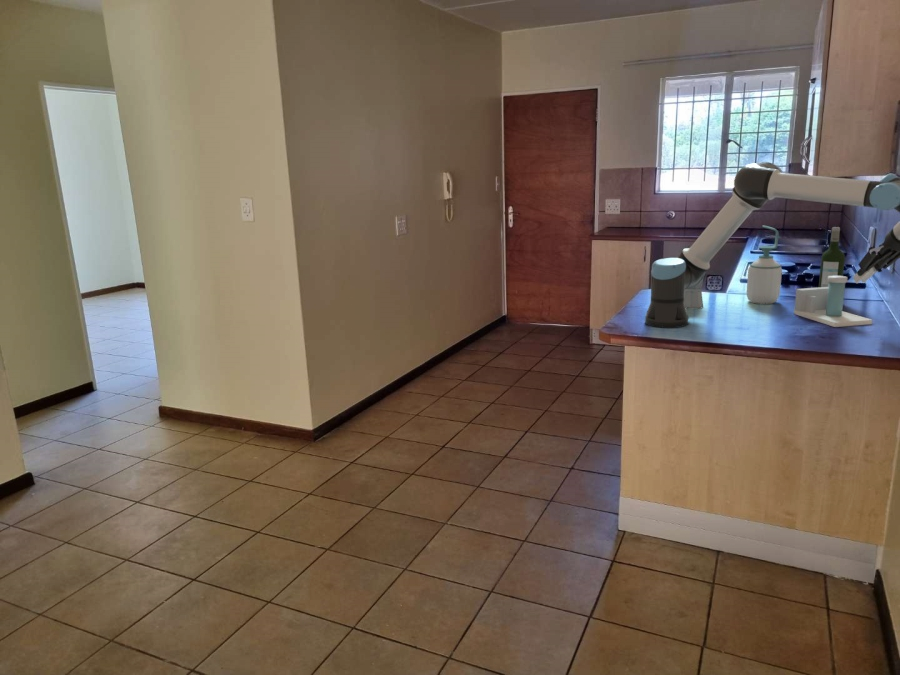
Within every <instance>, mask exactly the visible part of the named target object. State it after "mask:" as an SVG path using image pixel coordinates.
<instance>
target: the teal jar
mask: <svg viewBox="0 0 900 675" xmlns="http://www.w3.org/2000/svg"><path fill="white" fill-rule="evenodd" d="M827 281H828V282H829V287H828V297H827V306H826V315H830V316H841V315H842V311H843V309H844V308H843V307H844V298H845V297H844V296H845V288H846V283H848V276H844V275H843V276H828V280H827Z"/></svg>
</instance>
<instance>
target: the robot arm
mask: <svg viewBox="0 0 900 675" xmlns="http://www.w3.org/2000/svg"><path fill="white" fill-rule="evenodd" d="M731 194H732V196H731V197H730V199H729V200H728V201H727V202H726V203H725V205H724V206H723V207H722V208H721V209H720V210H719V212H718V213H717V215H716V216H714V218H713V219H712V220H711V222H710V223H709V224H708V225H707V226H706V228H705V229H704V230H703V231H702V232H701V234H700V235H699V236H698V237H697V239H696V240H695V241H694V242H693V243H692V244H691V246H690V247H685V248H683V250H682V251H681V252H680V253H679V254H678V255H677V257H665V258H660V259H657V260H655V261H654V262H652V264H651V270H650V278H651V280H650V303H649V306H648V309H647V311H646V314H645V319H644V323H645V324H646V325H648V326H651V327H655V328H667V329H669V328H671V329H672V328H681V327H682V328H683V327H686V326H687V325H688V324H689V315H688V312H687V308H685V305H684V290H686V289H688V288H692V287H694V286H696V285H698V284H699V283H700V282H701V281H702V279H703V278H704V276H705V272H706V273H707V271H708V270H709V269H710V268H711V265H710V261H711V260H712V259H713V258H714V257H715V255H716V254H717V253H719V251H720V250H721V249H722V247H723V246H725V244H726V243H727V241H728V240H729V239H730V238H731V237H732V236H733V235H734V233H735V232H736V231H737V230H739V227H741V225H742V224H743V223H744V221H745V220H746V219H747V218H748V217H749V215H751V214H752V212H753V211H756V210H757V211H758V210H760V209H762V207H763V206H764V205H765V204H766V203H767V202H768V201H772V200H774V199H775V198H781V199H791V200H798V201H799V200H800V201H808V202H817V203H818V202H819V203H825V204H826V203H828V204H837V205H846V206H847V205H848V206H855V207H856V206H857V207H866V208H870V209H871V208H872V209H878V210H879V211H890V210H893V209H894V210H895V211H896V212H898V213H900V176H897V175H896V174H894V173H888V174H886V175H885V176H883V177H882V178H881V179H880V180H866V179H864V180H863V179H857V178H855V179H854V178H845V177H832V176H820V175H808V174H799V173H798V174H795V173H788V172H786V173H785V172H783V170H782V168H780V167H779V165H777V164H775V163H772V162H768V161H761V162H758V163H755V162H754V163H750V164H746V165H744V166H743V167H742V168H740V169H739V170H738V171H737V173H736V174H735V177H734V179H733V188H732V189H731ZM899 259H900V220H899V221H898V222H897V223H896V224H895V225H894V226H893V228H891V229H890V230H889V232H888V233H886V234H885V236H884V241H883V242H882V243H880V244H879V245H878V247H874V246H870V247H868V250H867V252H866V254H865V255H864V256H863V257H862V259H861V260H860V261H859V263H858V266H859V269H858V270H857V271H856V273H855V274H854V275H853V276H852V278H853V280H854V282H855V284H859V283H861V282H862V283H863V284H864V283H866V282H867V281H868V280H870V278H871V277H872V276H873V275H875V274H876V273H882V272H883V270H884V269H885V270H886V269H888V268H889V267H890V266H891V265H892V264H894V263H895V262H896V261H897V260H899ZM882 269H883V270H882ZM705 277H706V276H705Z"/></svg>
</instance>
